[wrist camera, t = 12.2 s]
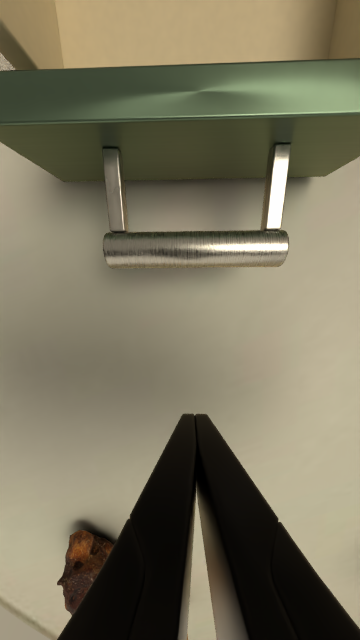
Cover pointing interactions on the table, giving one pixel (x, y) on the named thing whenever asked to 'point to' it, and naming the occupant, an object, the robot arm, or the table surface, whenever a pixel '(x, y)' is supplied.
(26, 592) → the table surface
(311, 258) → the table surface
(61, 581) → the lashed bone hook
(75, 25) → the drawer
